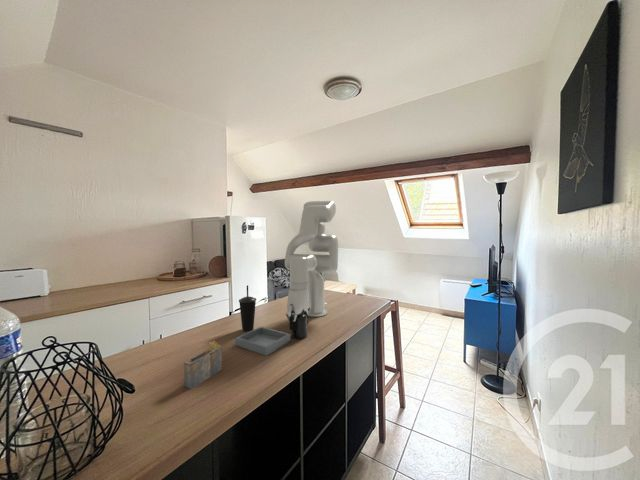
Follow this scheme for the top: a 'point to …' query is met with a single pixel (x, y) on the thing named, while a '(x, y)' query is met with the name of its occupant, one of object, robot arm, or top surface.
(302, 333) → the supplement bottle
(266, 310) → the top surface
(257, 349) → the tray
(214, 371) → the grey thin box
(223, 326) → the top surface
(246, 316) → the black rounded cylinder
